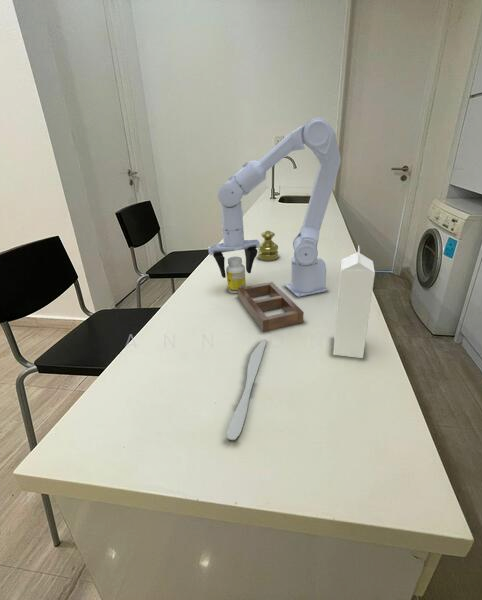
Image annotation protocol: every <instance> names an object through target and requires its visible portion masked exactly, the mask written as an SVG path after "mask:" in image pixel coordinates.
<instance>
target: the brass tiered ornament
mask: <svg viewBox="0 0 482 600" xmlns="http://www.w3.org/2000/svg"><path fill="white" fill-rule="evenodd" d="M260 236H261V237H262V238H263V239H264V240H263V241H262V242H261V243H260V248H257V251H258V252H257V256H258V259H259V260H261V261H265V262H270V261H275V260H277V259H278V258H279V251H278V250H279V246H278V244H277V243H275V242H274V240H272V239H273V238H274V237H275V236H276V234H275V232H273V231H271V230H265V231H263V232H261V234H260Z"/></svg>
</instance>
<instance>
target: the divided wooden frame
mask: <svg viewBox="0 0 482 600" xmlns="http://www.w3.org/2000/svg"><path fill="white" fill-rule="evenodd" d="M266 295H270V297H266V298H261V299H255V300H254V299H253V298H257V297H262V296H266ZM237 298H238V299H239V301H240V302H241V303H242V305H243V307H244V308H245V309H246V310H247V312H248V313H249V314H250V316H251V317H252V319H253V320H254V321H255V323H256V324H257V325H258V327H259V328H260V330H261V331H262V332H267V331H268V332H269V331H273V330H277V329H281V328H282V329H283V328H285V327H290V326H294V325H299V324H303V323H304V311H303V310H302V309H301V308H300V307H299V306H298V305H297V304H296V303H295V302H294V301H293V300H292V299H291V298H289V296H287V294H286V293H284V292H283V291H282V289H280V288H279V287H278V286H277V285H276V284H275V283H274V281H270V282H264V283H259V284H253V285H249V286H246V287H242V288H238V293H237ZM279 309H283V310H284V311H285V312H282V313H277V314H273V315H268V316H267V315H266V314H265V312H268V311H269V312H270V311H273V310H279Z"/></svg>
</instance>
